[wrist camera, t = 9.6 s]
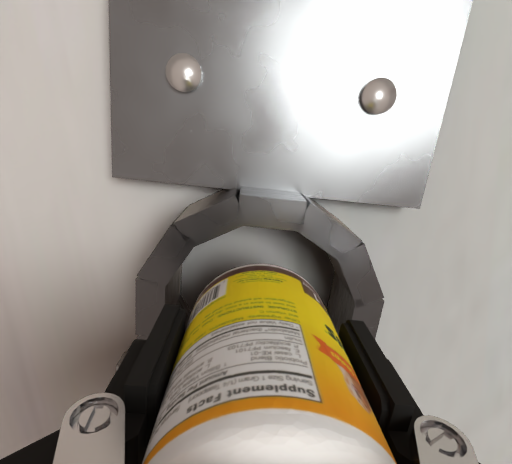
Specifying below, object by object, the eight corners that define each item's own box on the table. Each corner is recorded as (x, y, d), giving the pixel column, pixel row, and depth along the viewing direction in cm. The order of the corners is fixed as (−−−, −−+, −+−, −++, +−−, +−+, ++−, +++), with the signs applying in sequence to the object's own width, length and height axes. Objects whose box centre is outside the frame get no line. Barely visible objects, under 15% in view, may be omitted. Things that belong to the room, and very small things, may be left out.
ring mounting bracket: (120, -53, 13) (74, -120, 9) (458, -7, 13) (527, -54, 10) (125, 470, 21) (101, 535, 17) (339, 483, 21) (356, 548, 18)
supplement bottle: (322, 371, 14) (478, 870, 5) (198, 375, 14) (89, 893, 5) (327, 254, 13) (580, 638, 3) (187, 258, 13) (-18, 669, 3)
